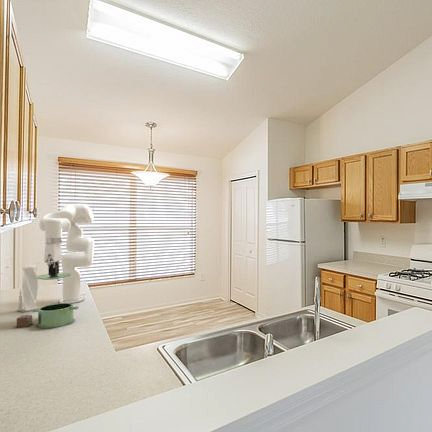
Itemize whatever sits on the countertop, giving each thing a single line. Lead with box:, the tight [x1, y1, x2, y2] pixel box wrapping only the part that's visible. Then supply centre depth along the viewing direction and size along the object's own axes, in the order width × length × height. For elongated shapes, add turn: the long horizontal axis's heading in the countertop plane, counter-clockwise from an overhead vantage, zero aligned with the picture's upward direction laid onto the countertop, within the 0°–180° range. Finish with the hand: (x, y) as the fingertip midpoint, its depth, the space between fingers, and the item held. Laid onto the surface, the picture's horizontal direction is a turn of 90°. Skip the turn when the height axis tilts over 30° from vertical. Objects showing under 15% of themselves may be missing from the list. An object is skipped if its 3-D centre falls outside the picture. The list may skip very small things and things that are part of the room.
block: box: [16, 314, 33, 328], centre depth 162 cm, size 5×5×5 cm
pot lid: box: [36, 265, 71, 281], centre depth 175 cm, size 16×16×7 cm
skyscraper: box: [17, 261, 40, 313], centre depth 189 cm, size 8×8×28 cm
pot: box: [32, 302, 80, 329], centre depth 165 cm, size 15×20×8 cm
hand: (53, 274), depth 176 cm, fingers closed on pot lid, 3 cm apart
